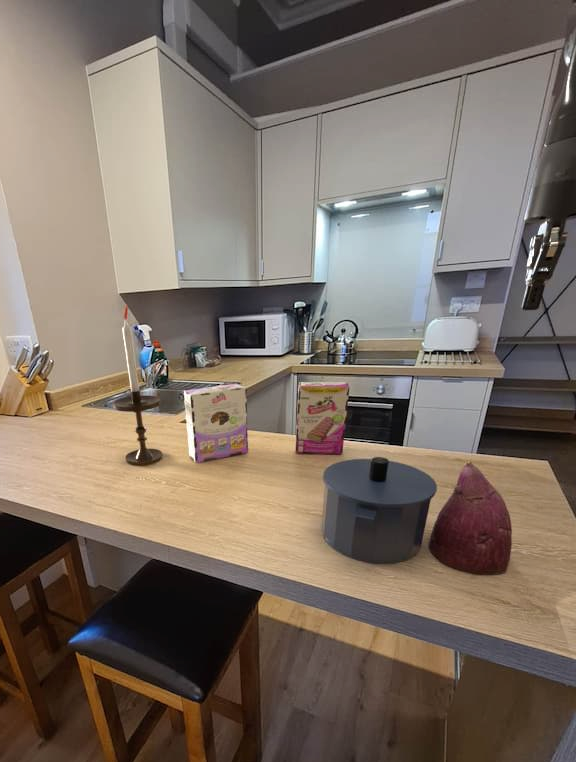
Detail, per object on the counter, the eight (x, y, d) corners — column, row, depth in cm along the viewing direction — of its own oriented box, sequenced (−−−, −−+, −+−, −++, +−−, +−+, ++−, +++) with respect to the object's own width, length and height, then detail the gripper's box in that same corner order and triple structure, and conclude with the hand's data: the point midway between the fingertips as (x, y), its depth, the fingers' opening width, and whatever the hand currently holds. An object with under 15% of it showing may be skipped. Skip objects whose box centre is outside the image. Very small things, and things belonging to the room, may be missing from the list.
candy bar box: (295, 454, 95) (298, 386, 88) (295, 447, 99) (297, 381, 92) (343, 455, 93) (350, 385, 86) (341, 447, 97) (347, 381, 90)
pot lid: (437, 473, 61) (442, 448, 59) (433, 521, 49) (439, 492, 47) (335, 459, 68) (337, 437, 66) (310, 498, 56) (311, 472, 54)
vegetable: (413, 561, 61) (399, 470, 57) (464, 538, 63) (454, 449, 60) (476, 589, 51) (464, 481, 47) (534, 560, 53) (526, 456, 50)
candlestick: (169, 449, 102) (153, 302, 87) (162, 466, 92) (144, 303, 77) (128, 451, 102) (105, 304, 87) (117, 467, 92) (89, 306, 78)
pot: (424, 515, 67) (434, 464, 63) (415, 587, 51) (428, 525, 47) (337, 499, 73) (341, 452, 69) (305, 558, 58) (309, 502, 54)
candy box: (239, 446, 102) (237, 382, 94) (248, 453, 97) (247, 386, 89) (188, 455, 97) (182, 389, 90) (195, 463, 92) (190, 394, 85)
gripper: (612, 166, 51) (567, 311, 58) (584, 186, 61) (549, 307, 68) (539, 176, 54) (506, 313, 61) (525, 193, 64) (498, 308, 72)
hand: (529, 309), depth 65 cm, fingers closed
